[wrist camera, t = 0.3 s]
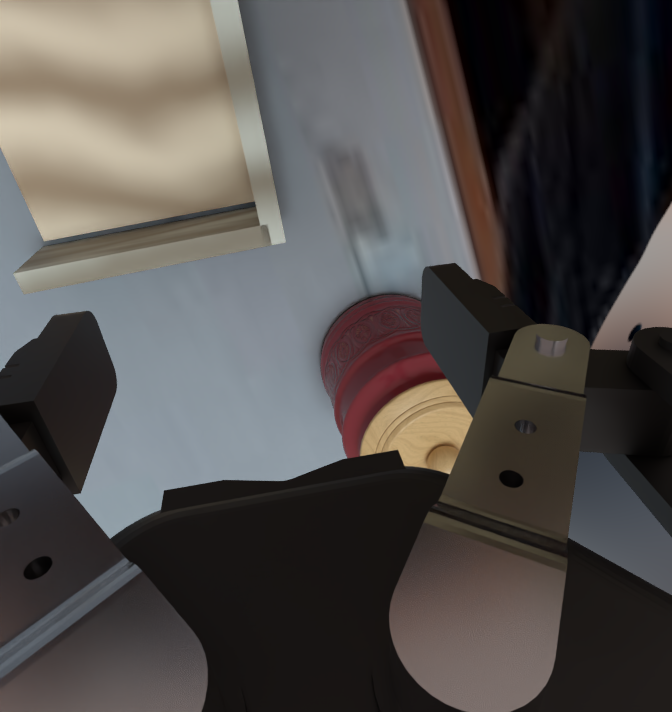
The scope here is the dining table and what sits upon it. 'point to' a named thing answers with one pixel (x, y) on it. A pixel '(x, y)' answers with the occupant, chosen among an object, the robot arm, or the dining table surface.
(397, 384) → the canister
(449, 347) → the robot arm
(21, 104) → the tray
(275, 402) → the dining table surface
